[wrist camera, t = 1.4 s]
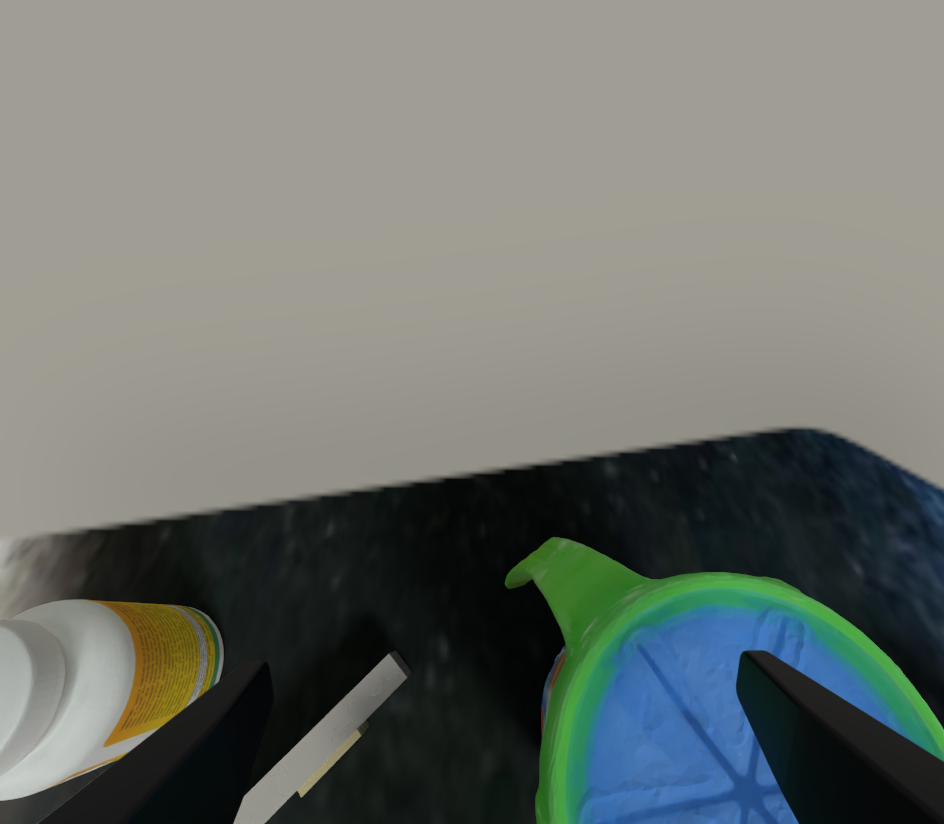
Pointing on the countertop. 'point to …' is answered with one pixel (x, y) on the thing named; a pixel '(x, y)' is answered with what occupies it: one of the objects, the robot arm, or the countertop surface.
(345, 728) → the price rail
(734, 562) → the countertop surface
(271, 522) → the countertop surface
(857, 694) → the snack cup
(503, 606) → the countertop surface
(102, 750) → the supplement bottle
